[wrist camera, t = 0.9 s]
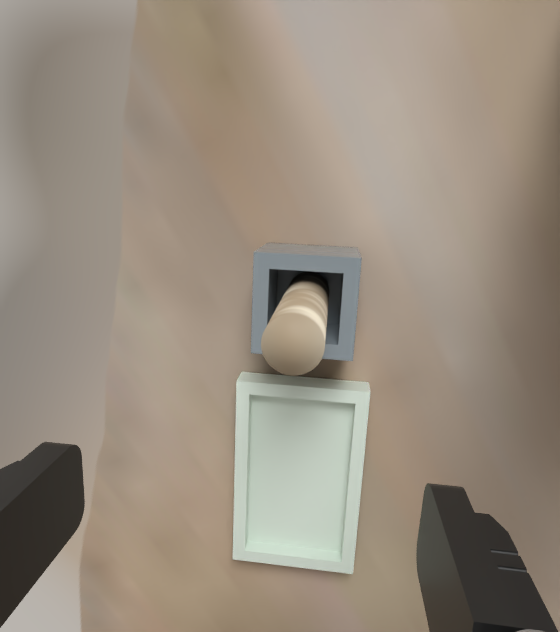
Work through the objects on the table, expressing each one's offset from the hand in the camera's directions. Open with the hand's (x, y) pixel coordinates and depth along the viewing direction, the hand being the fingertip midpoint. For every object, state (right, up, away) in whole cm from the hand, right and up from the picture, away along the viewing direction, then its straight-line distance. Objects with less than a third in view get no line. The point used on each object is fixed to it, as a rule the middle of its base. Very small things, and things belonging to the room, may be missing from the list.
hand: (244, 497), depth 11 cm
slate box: (+3, +6, +25) cm, 26 cm away
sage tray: (+2, -8, +29) cm, 30 cm away
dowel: (+3, +6, +24) cm, 25 cm away
